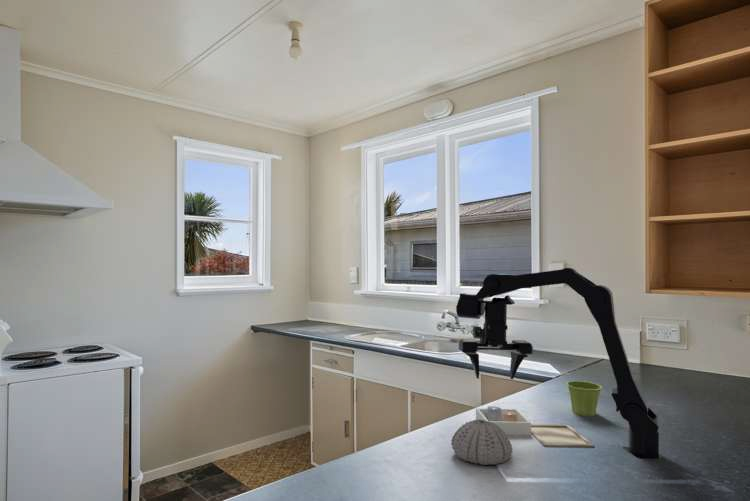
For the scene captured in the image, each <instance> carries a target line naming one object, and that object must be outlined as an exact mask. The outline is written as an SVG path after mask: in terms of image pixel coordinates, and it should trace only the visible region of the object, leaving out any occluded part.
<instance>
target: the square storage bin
mask: <svg viewBox="0 0 750 501" xmlns="http://www.w3.org/2000/svg"><path fill="white" fill-rule="evenodd" d="M507 411H509V412H515V413H517V414H518V419H517V422H504V421H503V412H507ZM477 419H480V420H485V421H488V420H487V407H485V408H482V407H481V408H480V407H478V408H477V407H476V408H475V420H477ZM489 422H492V423H494V424H496V425H497V426H499V428H500V429H502V431H503V432H505V435H507V436H512V435H513V436H532V434H531V424H532V422H531V421H530V420H529V419H528V418H527V417H526V416H525V415H524V414H522V413H521V411H519V410H518V409H517V408H501V421H489Z"/></svg>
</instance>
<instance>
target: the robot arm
mask: <svg viewBox="0 0 750 501" xmlns="http://www.w3.org/2000/svg"><path fill="white" fill-rule="evenodd" d="M562 284H563V285H564V284H565V285H566V286H568V287H569V288H571V289H572V290H573V291H574V292H576V294H578V295H580V296H581V297H582V298H583V299H584V302H585V304H586V306H587V307H588V310H589V312H590V313H591V315H592V317H593V318H594V320H595V321H596V323H597V326H598V328H599V331H600V334H601V337H602V341H603V343H604V346H605V350H606V353H607V356H608V357H607V358H608V360H609V362H610V366H611V369H612V371H613V375H614V378H615V382H616V387H615V388H612V390H611V396H612V399H613V401H614V402H615V409H616V410H615V411H616V412H617V413H618V412H619V414H620V416H621V417H622V419H624V420H625V421H627V423H628V428H629V429H628V446H622V449H623V450H625V451H627V452H628V453H630V454H631V455H633V456H634V457H635V458H636V459H641V460H643V459H645V460H646V459H648V460H651V459H653V460H660V459H661V460H665V459H666V457H664V456H663V455H661V454H660V452H659V451H660V449H659V447H660V432H659V428H660V426H659V416H658V415H657V414H656V413H655V412H654V411H653V410H652V409H651V408H650V407H649V404H648V401H647V398H646V396H645V395H644V393H643V390H642V389H641V387H640V385H638V382H637V380H636V378H635V377H634V374H633V371H632V369H631V366H630V362H629V359H628V355H627V353H626V350H625V346H624V344H623V341H622V338H621V335H620V332H619V328H618V326H617V322H616V316H615V314H616V312H615V304H614V296H613V292H612V291H611V289H610V288H609V287H607V286H605V285H602V284H598V285H597V284H596V283H594V282H593V281H592V280H590V279H588V277H585V276H583V275H582V274H580V273H579V272H578V271H577V270H575V269H574V268H572V267H565V268H561V269H555V270H547V271H540V272H539V271H538V272H531V273H525V274H524V273H523V274H505V273H492V274H488V275H487V276H485V278H484V279H483V282H482V286H481V288H480V289H479V290H478V291H477V293H476V294H471V293H470V294H469V293H466V292H465V293H461V292H460V294H459V298H458V300H457V304H456V307H455V308H456V315H457V317H458V318H462V319H474V320H476V319H477V320H479V319H480V318H481V316H482V317H483V316H484V322H483V328H482V327H481V326H473V328H472V337H473V338H469V339H468V338H461V339H460V340H459V342H458V349H459V351H461V352H462V353H464V354H465V356H467V357H468V358H469V360H470V362H471V364H472V368H473V372H474V374H475V377H476V379H477V380H479V378H480V355H479V353H477V351H479V350H482V351H483V350H485V351H486V350H487V351H491V350H492V351H494V350H495V351H510V358H511V359H510V368H509V369H510V370H509V377H510V380H514V378H515V375H516V373H517V372H518V368H519V367H520V365H521V364H522V362H523V360H524V359H525V358H528V356H529V355H533V354H534V347H533V345H532V343H531V342H528V341H527V340H522V339H521V340H520V339H514V340H512V341H511V342H508V340H507V331H508V325H507V319H508V318H507V316H508V315H507V314H508V312H507V311H508V310H507V309H508V308H507V307H508V306H507V305H509V306H511V305H512V306H513V305H515V303H516V302H515V301H514V300H513V299H512V298H511V296H510V295H509V294H508V293H511V292H515V291H518V290H521V289H525V288H526V289H527V288H535V287H543V286H544V287H545V286H553V285H562ZM505 294H508V295H505ZM501 295H505V296H504V297H497V296H501ZM494 296H495V297H494ZM489 298H492V299H491V300H485V299H489ZM476 339H478V340H479V342H477V341H476Z"/></svg>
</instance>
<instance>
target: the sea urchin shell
mask: <svg viewBox="0 0 750 501" xmlns="http://www.w3.org/2000/svg"><path fill="white" fill-rule="evenodd" d="M450 441H451V443H450V445H451V449H453V451H454V454H455V455H456V456H457V458H460V459H462V460H463V461H465V462H470V463H472V464H475V465H476V464H480V465H482V466H484V465H485V466H487V465H489V466H490V465H491V466H492V465H498V464H503V463H505V462H508V460H510V459H511V457H512V454H513V446H512V444H511V440H510V439H509V438H508V435H505V432H503V431H502V429H500V428H499V426H497V425H496V424H494V423H492V422H489V421H485V420H480V419H477V420H476V419H475V420H474V419H473V420H471V421H470V420H469V421H465V423H464V424H462V425H461V426H459V428H457V430H456V431H455V432H454V433H453V436H452V438H451V440H450Z"/></svg>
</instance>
